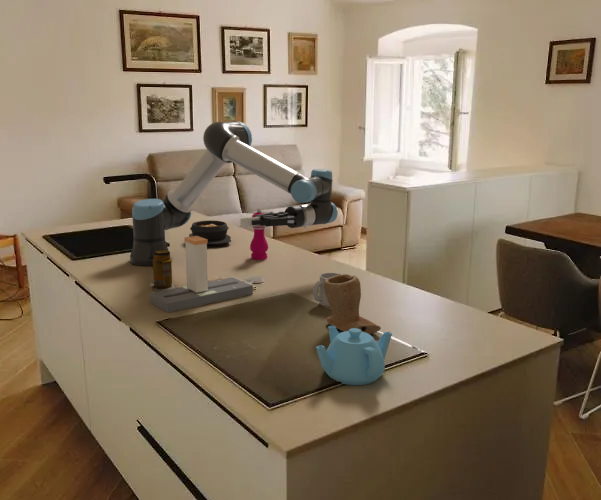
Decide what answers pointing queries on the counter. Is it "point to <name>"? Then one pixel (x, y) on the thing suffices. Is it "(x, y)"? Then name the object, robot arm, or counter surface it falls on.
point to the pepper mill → (258, 241)
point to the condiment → (162, 271)
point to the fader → (196, 263)
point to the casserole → (211, 231)
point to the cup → (322, 289)
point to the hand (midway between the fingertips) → (241, 223)
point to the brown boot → (346, 304)
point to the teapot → (354, 356)
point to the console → (200, 294)
